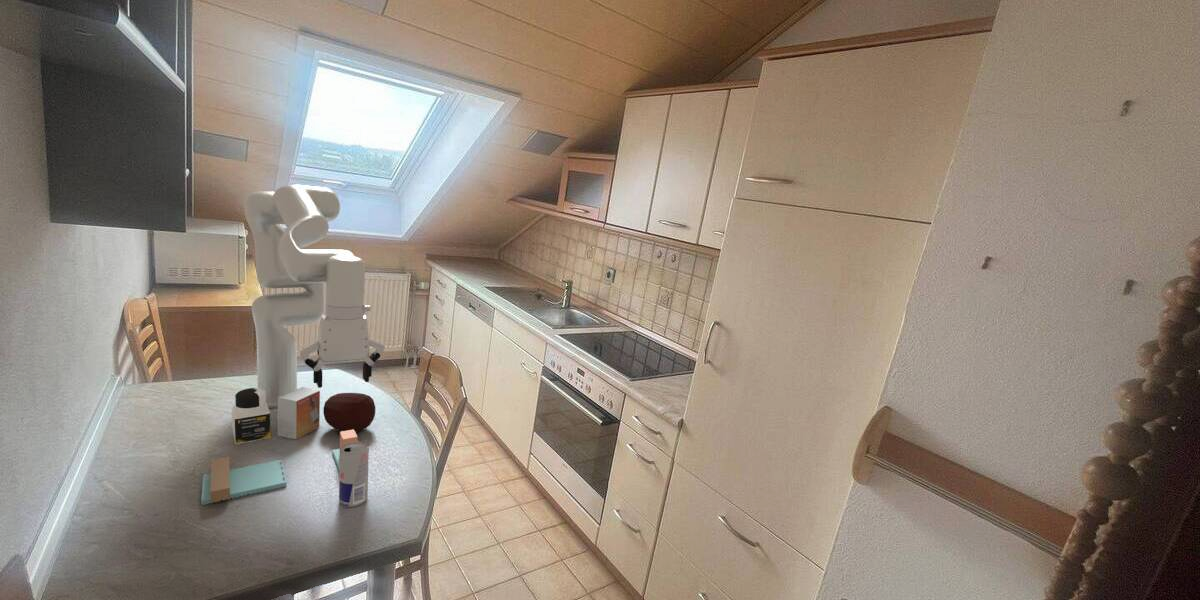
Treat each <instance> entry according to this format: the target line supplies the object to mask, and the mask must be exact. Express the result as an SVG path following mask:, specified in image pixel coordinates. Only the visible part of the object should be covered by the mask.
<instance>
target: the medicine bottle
mask: <svg viewBox="0 0 1200 600" xmlns="http://www.w3.org/2000/svg"><path fill="white" fill-rule="evenodd" d="M234 400H235V406H232V407H231V421H232V423H231V424H232V425H231V426H232V436H233V439H234V444H235V445H241V443H242V444H246V442H248V443H252V442H251V441H253V442H257V440H258V441H262V439H263V440H267V438H268V439H271V437H272V434H271V430H272V429H271V427H272V425H271V424H272V423H271V411H270V408H268V406H267V403H266V392H265V391H264V390H263V389H259V388H258V387H249V388H244V389H242V390H240V391H238V392H236V394H235V395H234Z"/></svg>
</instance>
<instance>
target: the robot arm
mask: <svg viewBox="0 0 1200 600" xmlns="http://www.w3.org/2000/svg"><path fill="white" fill-rule="evenodd" d="M243 204H244V207H243V208H244V209H243V211H244V215H245V218H246V219H245V220H246V222H247V223H248V227H249V229H250V230H251V233H252V236H253V241H254V254H255V257H254V258H255V272H256V279H257V282H258V285H260V287H262V288H265V289H270V290H271V289H273V290H278V289H279V290H281V289H282V290H283V289H300V288H301V289H302V291H299V292H279V293H268V294H262V295H261V296H260V295H259V296H258V297H256V298H255V299H254V300H253V302H252V303H251V314H252V319H253V322H254V329H255V336H256V359H257V360H256V365H257V367H256V368H257V374H256V375H257V388H259V389H263V390H264V391H265V392H266V403H267V406H268V408H269V409H271V408H278V397H280V396H283V395H286V394H288V393H290V392H293V391H295V390H297V389H298V381H297V380H298V367H297V366H298V365H297V364H298V362H297V361H298V360H297V359H298V357H297V356H298V355H297V352H298V351H297V348H298V347H297V346H298V345H297V339H296V337H295V336H294V335H293V334H292V333H291V331H289V330H288V329H287V328H288V327H293V326H302V325H310V324H311V325H312V324H317V323H319V325H318V334H317V342H315V343H313V344H311V345H309V346H307V347H305V348H302V349H301V350H299V352H298V354H299V356H300V357H301V359H302V360H303V362H304V364H305V365H307V366H308V367H309V368H310V369H312V370H313V373H312V374H313V375H312V376H313V379H312V381H313V383H314V384H316V386H317V388H318V389H320V388H322V387H323V370H322V368H323V367H324V366H325V365H326V363H336V362H337V363H338V362H350V361H356V360H357V361H359V360H363V363H362V379H363V380H364V382H366V383H369V382H370V378H372V373H373V372H372V371H373V370H372V369H373V366H374V363H375V362H376V361H377V360H379V358H381V355H382V354H383V352H384V350H385V348H386V346H385V345H384V344H383V343H380V342H377V341H376V340H373V339H370V336H369V334H370V333H369V325H368V319H367V315H365V314H366V313H367V312H371V309H372V308H371V305H367V304H365V286H366V285H365V284H366V281H365V280H366V262H365V261H364V259H362V258H360V257H357V256H356V255H355V254H354V253H353V251H350V250H348V249H347V250H346V249H311V248H310V249H303V248H306V247H308V246H310V245H313V244H316V243H318V242H319V241H321V240H323V239H324V238H325V237H326V236H327V235H328V232H329V228H330V227H329V222H331V221H334V220H335V219H337V217H338V216H339V214H340V211H341V204H340V200H339V197H338V196H337V194H336V193H335V192H334V191H333V190H332V189H330V188H328V187H322V186H315V185H314V186H312V185H304V184H303V185H302V184H284V185H282V186H280V187H278V188H277V189H275V191H269V190H268V191H266V190H265V191H263V190H262V191H254V192H250V193H249V194H247V196H246V197H245V199H244V203H243ZM282 225H285V227H286V229H285V228H284V227H283V226H282ZM324 283H325V293H324ZM324 313H325V315H324ZM370 347H371V348H374V349H375V351H374V352H373V353H372V354H371V355H369V354H370ZM315 352H317V355H318V356H317V357H316V359H315V360H313V359H312V358H311V357H310V354H311V355H312V354H313V353H315Z"/></svg>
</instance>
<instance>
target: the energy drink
mask: <svg viewBox="0 0 1200 600" xmlns="http://www.w3.org/2000/svg"><path fill="white" fill-rule="evenodd" d="M369 454H370V453H369V447H368V444H367V443H364V442H360V441H357V442H352V443H348V444H346V445H344V446H343V447H342V448H341V451H340V465H339V469H338V472H339V474H338V475H339V479H338V480H339V481H338V483H339V484H338V486H339V487H338V489H339V490H338V503H339V504H340V505H341V506H343V507H346V508H353V507H354V508H355V507H357V506H360V505H362V504H363V503H365V502H366V501H367V500H368V494H369V493H368V492H369V491H368V490H369V485H368V484H369V456H370V455H369Z"/></svg>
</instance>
